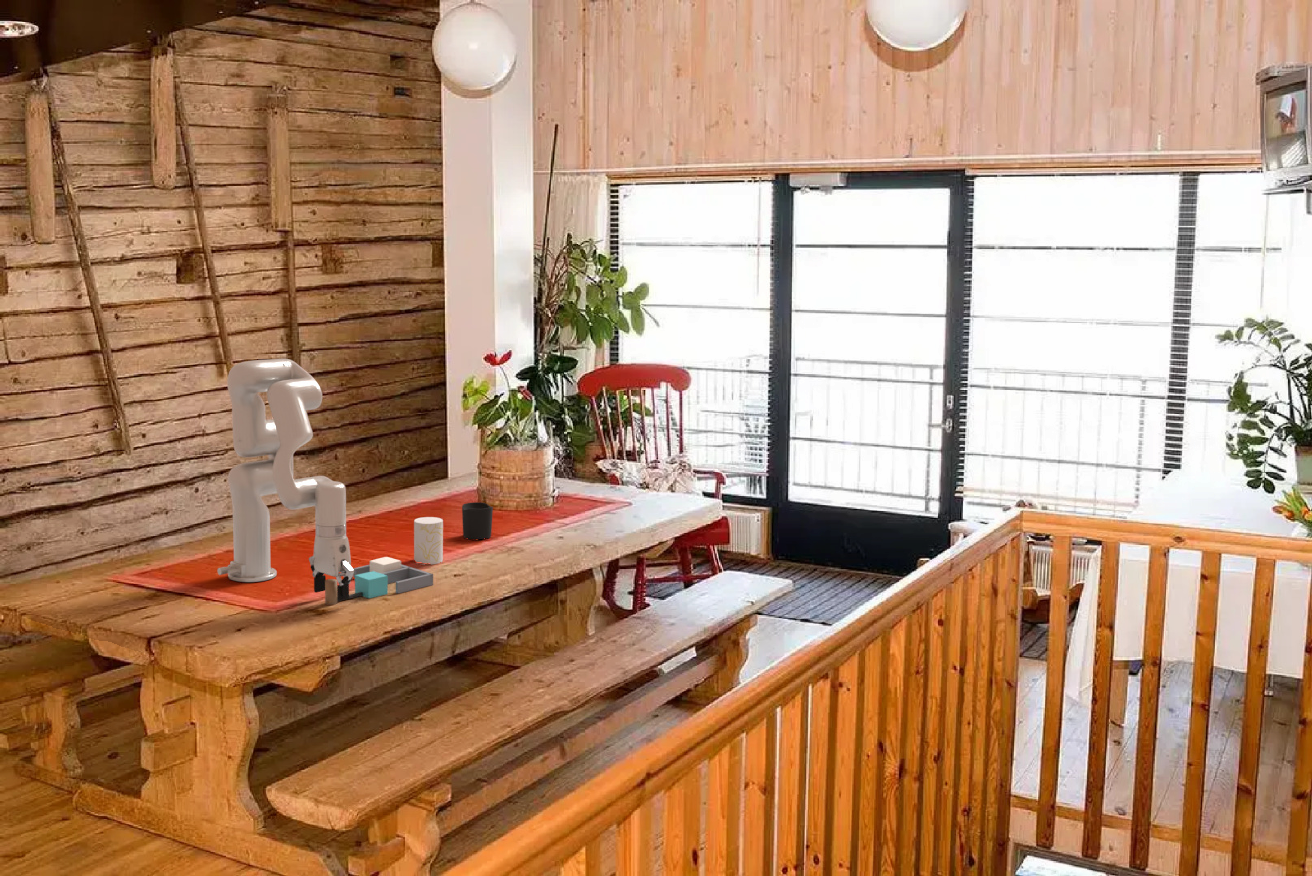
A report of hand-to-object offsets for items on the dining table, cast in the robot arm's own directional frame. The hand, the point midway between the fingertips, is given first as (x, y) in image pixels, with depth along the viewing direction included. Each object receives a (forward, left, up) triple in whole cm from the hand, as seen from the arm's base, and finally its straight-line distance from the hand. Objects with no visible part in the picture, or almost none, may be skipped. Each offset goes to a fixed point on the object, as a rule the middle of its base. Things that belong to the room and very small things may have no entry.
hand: (331, 595), depth 333 cm
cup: (+45, +15, -2) cm, 47 cm away
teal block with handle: (+7, 0, -2) cm, 7 cm away
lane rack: (+24, +5, -2) cm, 24 cm away
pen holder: (+74, +26, -2) cm, 78 cm away
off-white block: (+25, +9, -2) cm, 26 cm away
